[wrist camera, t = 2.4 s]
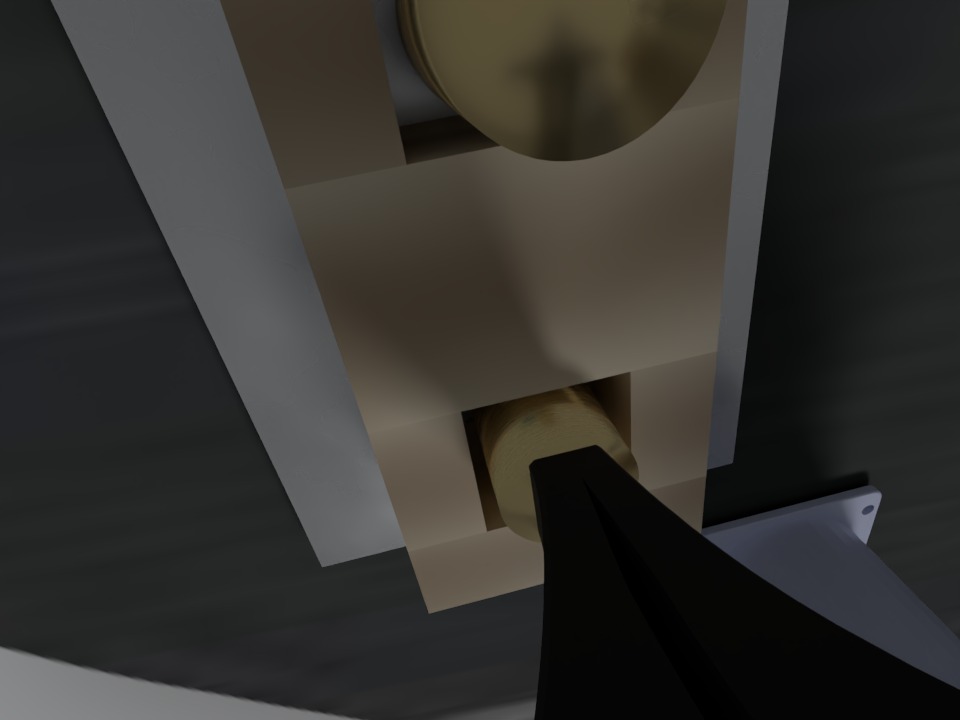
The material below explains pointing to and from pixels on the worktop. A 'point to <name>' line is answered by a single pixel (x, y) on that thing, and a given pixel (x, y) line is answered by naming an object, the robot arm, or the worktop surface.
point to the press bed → (280, 252)
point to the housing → (497, 276)
